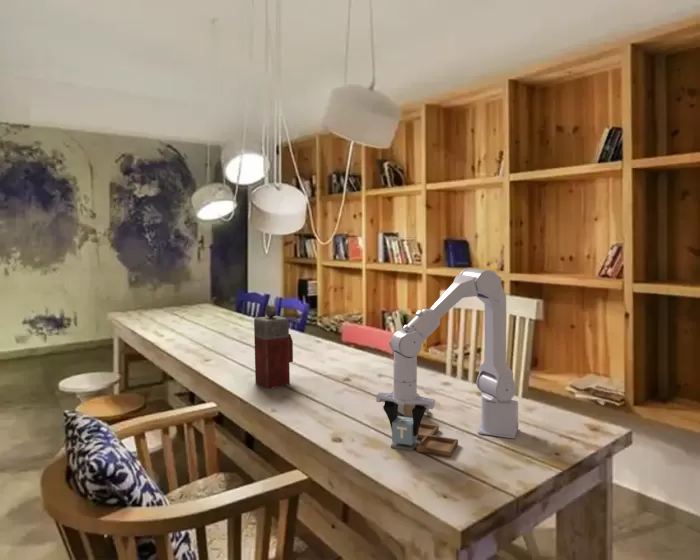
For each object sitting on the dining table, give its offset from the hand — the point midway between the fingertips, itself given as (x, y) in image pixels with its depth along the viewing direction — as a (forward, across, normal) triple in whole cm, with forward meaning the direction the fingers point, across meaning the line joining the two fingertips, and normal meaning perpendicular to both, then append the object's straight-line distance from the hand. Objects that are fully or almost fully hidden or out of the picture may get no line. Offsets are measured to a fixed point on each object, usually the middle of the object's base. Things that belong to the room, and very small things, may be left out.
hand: (404, 432), depth 133 cm
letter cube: (+2, 0, 0) cm, 2 cm away
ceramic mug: (+3, -6, +23) cm, 24 cm away
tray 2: (+3, +8, +1) cm, 9 cm away
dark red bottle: (+3, -59, +34) cm, 68 cm away
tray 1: (+3, +1, +9) cm, 9 cm away
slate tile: (+3, 0, 0) cm, 3 cm away
